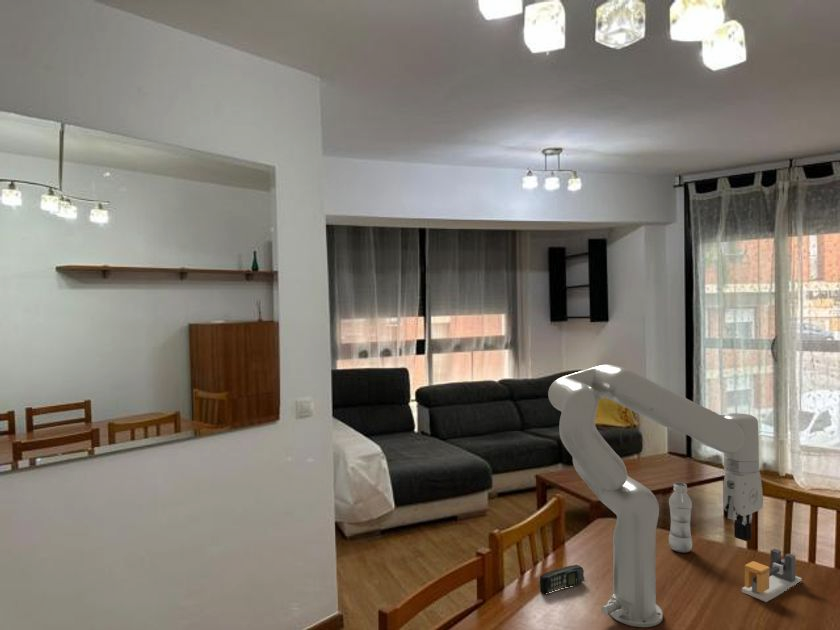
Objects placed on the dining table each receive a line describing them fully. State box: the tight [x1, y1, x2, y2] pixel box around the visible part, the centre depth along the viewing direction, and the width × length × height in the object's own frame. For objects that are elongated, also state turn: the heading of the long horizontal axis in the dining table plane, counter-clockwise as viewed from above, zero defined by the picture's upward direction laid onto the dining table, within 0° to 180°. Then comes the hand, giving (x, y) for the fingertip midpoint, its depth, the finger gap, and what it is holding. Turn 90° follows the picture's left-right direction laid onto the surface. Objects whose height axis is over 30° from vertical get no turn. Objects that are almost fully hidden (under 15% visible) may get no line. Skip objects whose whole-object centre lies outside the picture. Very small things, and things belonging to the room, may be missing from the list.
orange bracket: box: [744, 561, 770, 593], centre depth 145 cm, size 4×4×6 cm
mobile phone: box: [539, 564, 585, 595], centre depth 151 cm, size 5×3×15 cm
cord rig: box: [741, 548, 802, 603], centre depth 149 cm, size 18×6×8 cm, turn 122°
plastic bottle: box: [668, 481, 693, 553], centre depth 171 cm, size 6×7×20 cm
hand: (742, 538), depth 140 cm, fingers closed
